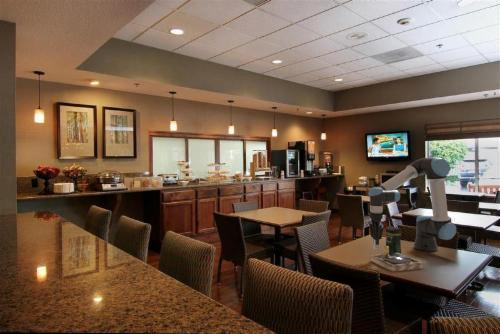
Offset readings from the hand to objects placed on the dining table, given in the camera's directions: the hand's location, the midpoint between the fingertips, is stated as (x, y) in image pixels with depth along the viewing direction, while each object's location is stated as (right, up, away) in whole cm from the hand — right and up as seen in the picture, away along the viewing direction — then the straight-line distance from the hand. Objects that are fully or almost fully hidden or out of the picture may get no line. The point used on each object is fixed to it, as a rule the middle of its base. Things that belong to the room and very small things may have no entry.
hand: (376, 249), depth 203 cm
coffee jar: (+16, -7, +12) cm, 21 cm away
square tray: (+9, -7, -8) cm, 14 cm away
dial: (+9, -5, -8) cm, 13 cm away
